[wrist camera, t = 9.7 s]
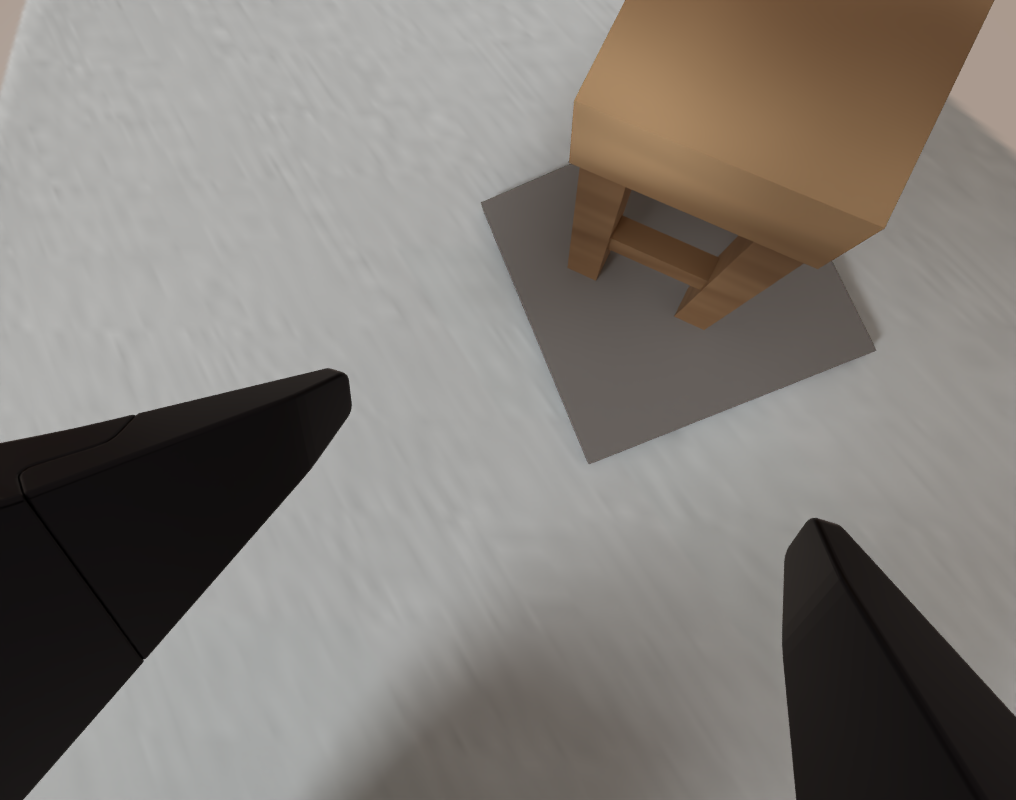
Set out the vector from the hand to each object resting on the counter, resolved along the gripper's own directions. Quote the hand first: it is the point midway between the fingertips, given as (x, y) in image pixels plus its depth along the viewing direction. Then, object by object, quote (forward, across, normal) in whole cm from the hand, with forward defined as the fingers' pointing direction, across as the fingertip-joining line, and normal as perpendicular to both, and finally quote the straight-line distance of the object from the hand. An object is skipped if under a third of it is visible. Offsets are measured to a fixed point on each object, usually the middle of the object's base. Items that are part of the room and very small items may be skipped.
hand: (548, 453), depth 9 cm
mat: (+12, -1, 0) cm, 12 cm away
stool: (+12, -1, -2) cm, 13 cm away
